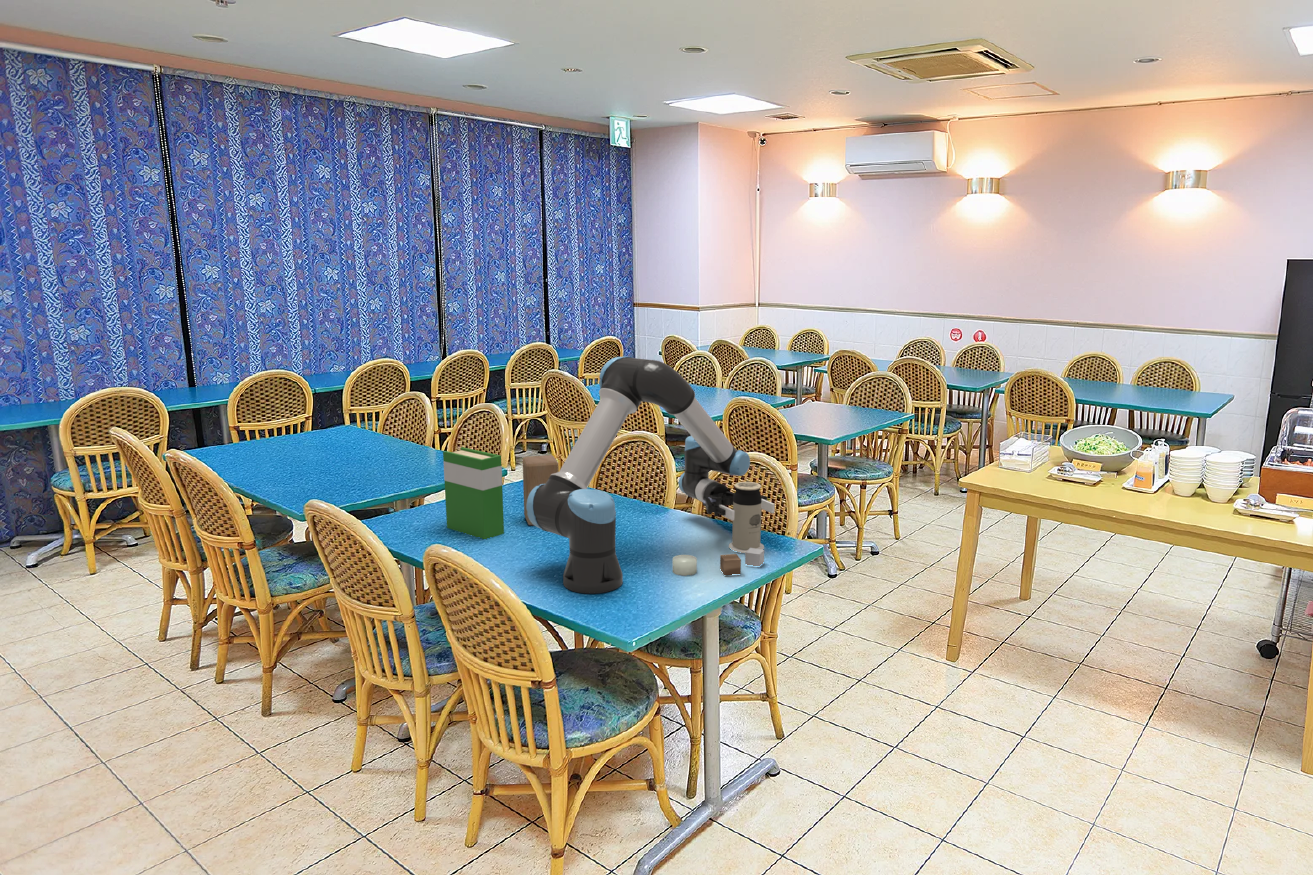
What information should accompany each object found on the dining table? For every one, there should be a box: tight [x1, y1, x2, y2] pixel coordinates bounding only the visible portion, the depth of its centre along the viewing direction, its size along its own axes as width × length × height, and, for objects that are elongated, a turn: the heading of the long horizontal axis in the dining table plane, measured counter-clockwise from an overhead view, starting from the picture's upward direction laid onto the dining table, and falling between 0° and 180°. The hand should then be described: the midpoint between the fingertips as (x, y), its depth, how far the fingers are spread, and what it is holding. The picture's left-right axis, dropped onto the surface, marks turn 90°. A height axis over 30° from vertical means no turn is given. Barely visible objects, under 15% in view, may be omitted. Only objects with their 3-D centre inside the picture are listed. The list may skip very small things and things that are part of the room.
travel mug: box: [731, 481, 762, 550], centre depth 244 cm, size 8×8×18 cm
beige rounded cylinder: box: [672, 554, 698, 577], centre depth 228 cm, size 6×6×4 cm
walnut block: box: [719, 553, 742, 576], centre depth 227 cm, size 4×4×4 cm
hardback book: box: [442, 446, 505, 540], centre depth 258 cm, size 18×7×24 cm, turn 51°
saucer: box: [728, 542, 765, 554], centre depth 246 cm, size 10×10×1 cm
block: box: [522, 454, 560, 526], centre depth 269 cm, size 10×10×20 cm
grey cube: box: [744, 548, 765, 566], centre depth 232 cm, size 4×4×4 cm
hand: (753, 512), depth 241 cm, fingers open, 13 cm apart
